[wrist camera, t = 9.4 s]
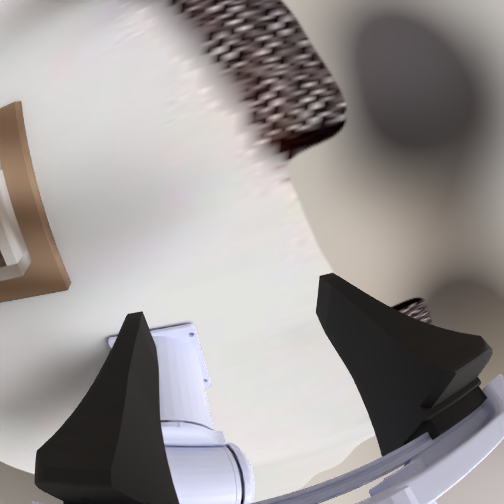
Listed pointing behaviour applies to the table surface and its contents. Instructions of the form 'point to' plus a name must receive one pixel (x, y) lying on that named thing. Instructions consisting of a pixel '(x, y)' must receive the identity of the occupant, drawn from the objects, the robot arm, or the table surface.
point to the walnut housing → (24, 219)
